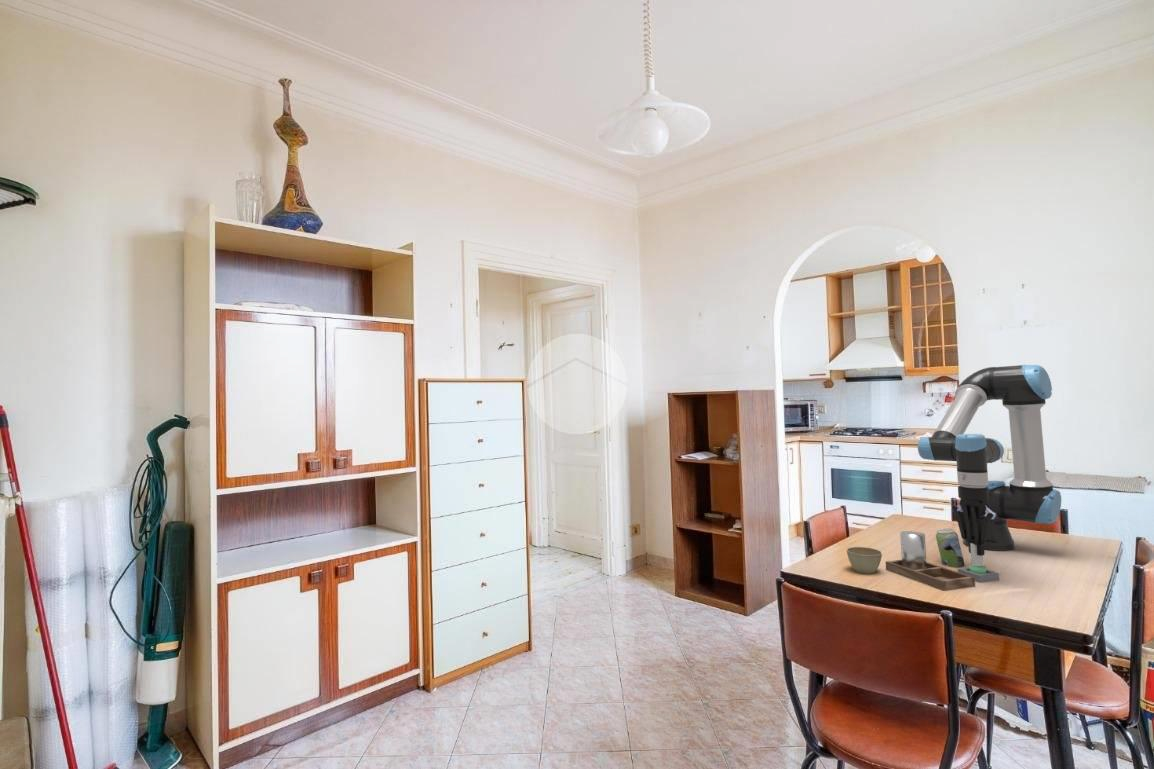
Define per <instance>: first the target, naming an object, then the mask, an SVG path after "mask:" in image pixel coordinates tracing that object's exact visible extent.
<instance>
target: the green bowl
mask: <svg viewBox="0 0 1154 769" xmlns="http://www.w3.org/2000/svg"><path fill="white" fill-rule="evenodd" d="M846 553H847V557H848V558H847V559H848V561H849V564H850V566H851V567H852V569H853V570H854V571H855V572H856V573H857V572H858V573H860V574H874V573H876V572H877V570H878V569H879V567H880V565H881V561H882V557H883V556H882V555H883V552H882V551H881V550H879V549H876V548H874V547H873V548H872V547H866V546H851V547H848V548H846Z"/></svg>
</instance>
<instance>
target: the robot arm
mask: <svg viewBox="0 0 1154 769" xmlns="http://www.w3.org/2000/svg"><path fill="white" fill-rule="evenodd" d="M1052 390H1053V387H1052V381H1051V378H1050V376H1049V374H1048V372H1047V370H1046V369H1045V368H1044V366H1041V365H1039V364H1020V365H1008V366H1005V365H1004V366H990V367H989V366H988V367H984V368H982V369H979V370H977V371H975V372H973V373H972V374H970V375H969V376H967V377H966V378H965V379H964V380H962V381H961V382H960V384H959V385H958V386H957V388H956V390H955V391H954V394H955V397H954V399H953V401H952V403H951V404H950V406H949V408H948V409H947V411H946V412H945V415H944V416H943V417H942V419H941V421H940V423H939V424H938V425H937V428H936V430H934V433H933V434H932V435H931V436H927V437H926V436H925V437H921V438H919V440H918V443H917V451H918V454H919V456H920V458H921V459H922V460H928V461H929V460H930V461H935V462H936V461H937V462H939V461H941V462H956V474H957V484H958V486H957V494H958V498H959V499H960V500H959V504H957V505H954V506H952V510H953V512H954V515H955V516H956V520H957V525H958V528H959V533H960V536H961V539H962V542H963V545H965V546H966V547H967V546H968V553H970V557H971V559H970V563H971V564H970V565H972V566H975V567H978V566H984V556H985V553H986V552H985V550H988V551H1011V550H1014V549H1015V548H1016V547H1015V540H1014V538H1013V536H1012V534H1011V532H1010V529H1009V526H1008V520H1012V521H1020V522H1028V523H1035V524H1047V525H1050V524H1053V523H1055V522H1056V520H1058V517H1059V515H1060V511H1061V507H1062V494H1061V492H1060V490H1057V489H1054V484H1053V483H1052V482H1051V481H1050V480H1049V479H1048V478H1047V471H1046V461H1045V448H1044V439H1043V438H1044V436H1043V426H1042V414H1041V412H1042V411H1041V408H1043V407H1044V406H1046V400H1047V399H1050V398H1051V397H1052V394H1053V391H1052ZM992 400H997V401H998V400H999V401H1000V400H1001V402H1002V406H1003V407H1005V408H1006V409H1007V410H1008V418H1009V419H1008V420H1009V432H1010V440H1011V453H1012V464H1013V474H1014V478H1012V479H1011V480H1010V481H1009V483H1008V484H1009V485H1006V483H1005V481H1003V480H989V474H988V472H989V471H988V464H992V463H995V462H998V461H999V460H1000V459H1002V458H1003V456H1004V454H1005V450H1004V446H1003V444H1002V443H1001V442H1000V441H998V439H995V438H990V437H986V436H985V434H981V433H965V432H966V431H967V429H968V427H969V425H970V424H971V422H972V420H973V419H974V417H975V415H976V413H977V411H978V409H979V407H982V406H984V405H985V404H986V403H987V401H992Z"/></svg>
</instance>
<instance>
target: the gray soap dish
mask: <svg viewBox="0 0 1154 769" xmlns="http://www.w3.org/2000/svg"><path fill="white" fill-rule="evenodd" d="M957 572H959V573H963V574H966V575H969V576H972V577H975V583H976V582H977V583H987V582H989V583H990V582H995V581H999V580H1000V573H999V572H997V571H994V570H990V569H987V568H986V573H983V574H977V573H974V572H971V571H970V566H969V567H962V568H961V567H959V568H957Z"/></svg>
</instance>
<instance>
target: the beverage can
mask: <svg viewBox="0 0 1154 769" xmlns="http://www.w3.org/2000/svg"><path fill="white" fill-rule="evenodd" d="M935 539H936V540H935V541H936V543H937V547H938V548H937V549H938V551H939V556H940V560H941V564H942V565H943V566H945V567H949V568H950V567H951V568H961V567H963V566H965V561H964V556H963V552H962V548H961V543H960V539H959V536H958V533H957V532H955V529H951V528H944V529H938V530H937V531H936V533H935Z"/></svg>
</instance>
